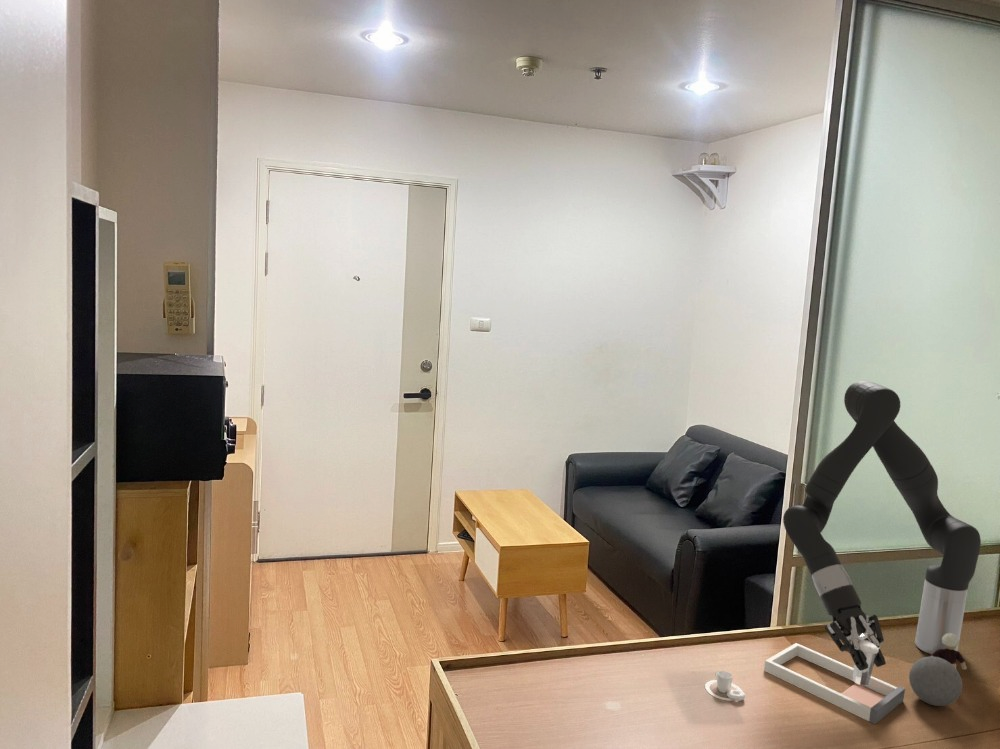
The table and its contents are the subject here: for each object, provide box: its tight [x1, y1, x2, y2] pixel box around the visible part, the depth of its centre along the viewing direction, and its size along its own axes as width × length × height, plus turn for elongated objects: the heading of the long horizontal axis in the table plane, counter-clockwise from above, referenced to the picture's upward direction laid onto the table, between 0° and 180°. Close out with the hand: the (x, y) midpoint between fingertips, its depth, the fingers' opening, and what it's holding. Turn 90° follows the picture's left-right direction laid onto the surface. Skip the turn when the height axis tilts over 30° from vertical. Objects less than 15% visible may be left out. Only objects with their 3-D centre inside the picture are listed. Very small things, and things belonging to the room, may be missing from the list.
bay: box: [763, 642, 906, 725], centre depth 174 cm, size 14×25×3 cm, turn 41°
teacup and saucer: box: [704, 670, 746, 702], centre depth 169 cm, size 9×8×4 cm
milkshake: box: [852, 639, 885, 687], centre depth 168 cm, size 4×5×10 cm
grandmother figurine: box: [931, 633, 967, 671], centre depth 176 cm, size 8×4×13 cm, turn 89°
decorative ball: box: [908, 655, 963, 707], centre depth 169 cm, size 10×10×10 cm
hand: (872, 667), depth 166 cm, fingers closed on milkshake, 4 cm apart
